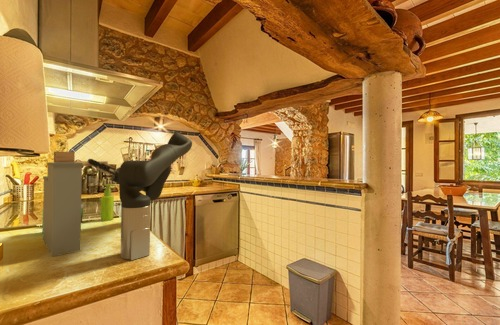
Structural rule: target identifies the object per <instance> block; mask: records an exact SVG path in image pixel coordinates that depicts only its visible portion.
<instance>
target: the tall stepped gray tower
mask: <svg viewBox="0 0 500 325" xmlns="http://www.w3.org/2000/svg"><path fill="white" fill-rule="evenodd" d="M46 165H47V175H46V176H43V177H42V179H43V201H42V202H43V204H42V205H43V208H42V223H43V234H42V240H43V241H44V244H45V246H46V248H47V250H48V252H49V254H50V256H51V257H52V258H53V257H56V256H57V257H58V256H60V255H65V254H70V253H74V252H79V251H81V247H82V246H81V245H82V242H81V240H82V236H81V235H82V234H81V233H82V222H81V202H82V187H83V185H82V183H83V181H82V180H83V179H82V178H83V177H82V176H83V175H82V174H83V173H82V171H83V167H84V166H83V163H55V162H54V161H53V162H46Z"/></svg>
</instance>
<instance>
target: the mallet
mask: <svg viewBox="0 0 500 325" xmlns="http://www.w3.org/2000/svg"><path fill="white" fill-rule="evenodd" d="M96 161H97V160H96ZM53 162H55V163H83V166H82V167H94V165H92V164H90V163H88V162H89V161H88V160H87V161H85V160H84V161H83V160H82V161H81V160H75V151H53ZM97 162H99V163H104V164H106V165H108V166H109V164H108V163H109V162H108V161H102V160H101V161H97Z"/></svg>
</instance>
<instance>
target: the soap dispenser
mask: <svg viewBox="0 0 500 325" xmlns="http://www.w3.org/2000/svg"><path fill="white" fill-rule="evenodd" d="M103 186H105V190H104V191H103V195H102V196H101V198H100V221H101V222H109V221H113V220H114V206H115V204H114V201H115V200H114V199H115V196H114V195H112V190H111V189H110V186H112V187H115V186H116V184H113V183H105V184H104V185H103Z"/></svg>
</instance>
